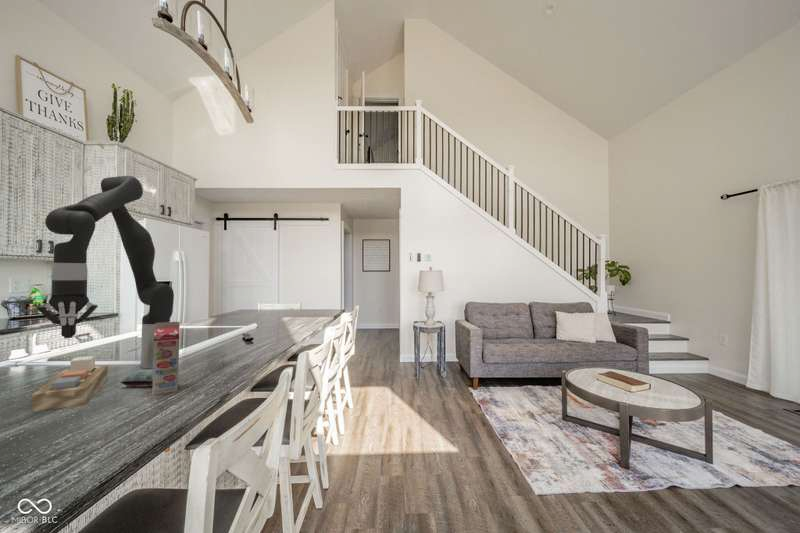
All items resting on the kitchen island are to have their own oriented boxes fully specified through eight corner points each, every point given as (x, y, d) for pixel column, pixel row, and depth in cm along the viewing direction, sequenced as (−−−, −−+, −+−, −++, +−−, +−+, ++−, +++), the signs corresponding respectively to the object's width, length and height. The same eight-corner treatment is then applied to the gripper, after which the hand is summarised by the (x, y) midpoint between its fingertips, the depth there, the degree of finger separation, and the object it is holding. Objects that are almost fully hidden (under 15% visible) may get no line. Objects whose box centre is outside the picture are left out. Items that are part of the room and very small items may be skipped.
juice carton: (153, 388, 112) (155, 321, 112) (177, 385, 115) (179, 320, 116) (152, 394, 106) (154, 324, 106) (177, 391, 110) (179, 323, 110)
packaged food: (137, 380, 120) (137, 366, 120) (172, 380, 120) (173, 366, 120) (118, 389, 111) (119, 374, 111) (157, 389, 112) (157, 374, 112)
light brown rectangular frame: (107, 378, 120) (107, 365, 120) (85, 404, 98) (86, 388, 98) (65, 383, 115) (65, 369, 115) (31, 411, 92) (32, 394, 92)
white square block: (94, 367, 117) (95, 355, 117) (90, 371, 112) (91, 359, 112) (75, 369, 114) (75, 357, 114) (70, 373, 110) (70, 360, 110)
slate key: (80, 389, 103) (80, 376, 103) (74, 394, 98) (75, 381, 99) (57, 392, 100) (57, 378, 100) (50, 397, 96) (51, 383, 96)
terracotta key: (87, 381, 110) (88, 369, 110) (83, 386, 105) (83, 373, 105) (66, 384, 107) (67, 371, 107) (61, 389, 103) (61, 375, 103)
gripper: (102, 278, 106) (101, 333, 106) (43, 278, 100) (42, 337, 100) (96, 279, 100) (94, 338, 100) (32, 279, 93) (31, 342, 93)
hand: (68, 337), depth 100 cm, fingers closed
